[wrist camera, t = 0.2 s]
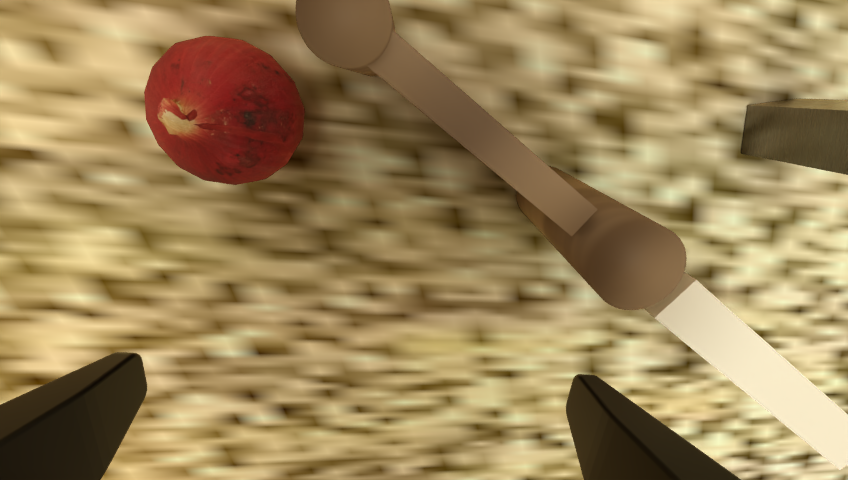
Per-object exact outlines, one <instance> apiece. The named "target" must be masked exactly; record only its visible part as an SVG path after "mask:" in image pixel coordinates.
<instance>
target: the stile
mask: <svg viewBox="0 0 848 480" xmlns="http://www.w3.org/2000/svg"><path fill="white" fill-rule="evenodd" d="M741 153H742V154H747V155H752V156H757V157H762V158H767V159H772V160H777V161H782V162H787V163H792V164H797V165H802V166H806V167H811V168H816V169H821V170H826V171H831V172H836V173H841V174H846V175H848V100H827V99H789V100H782V101H774V102H767V103H760V104H752V105H748V107H747V114H746V121H745V128H744V136H743V143H742V150H741Z"/></svg>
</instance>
